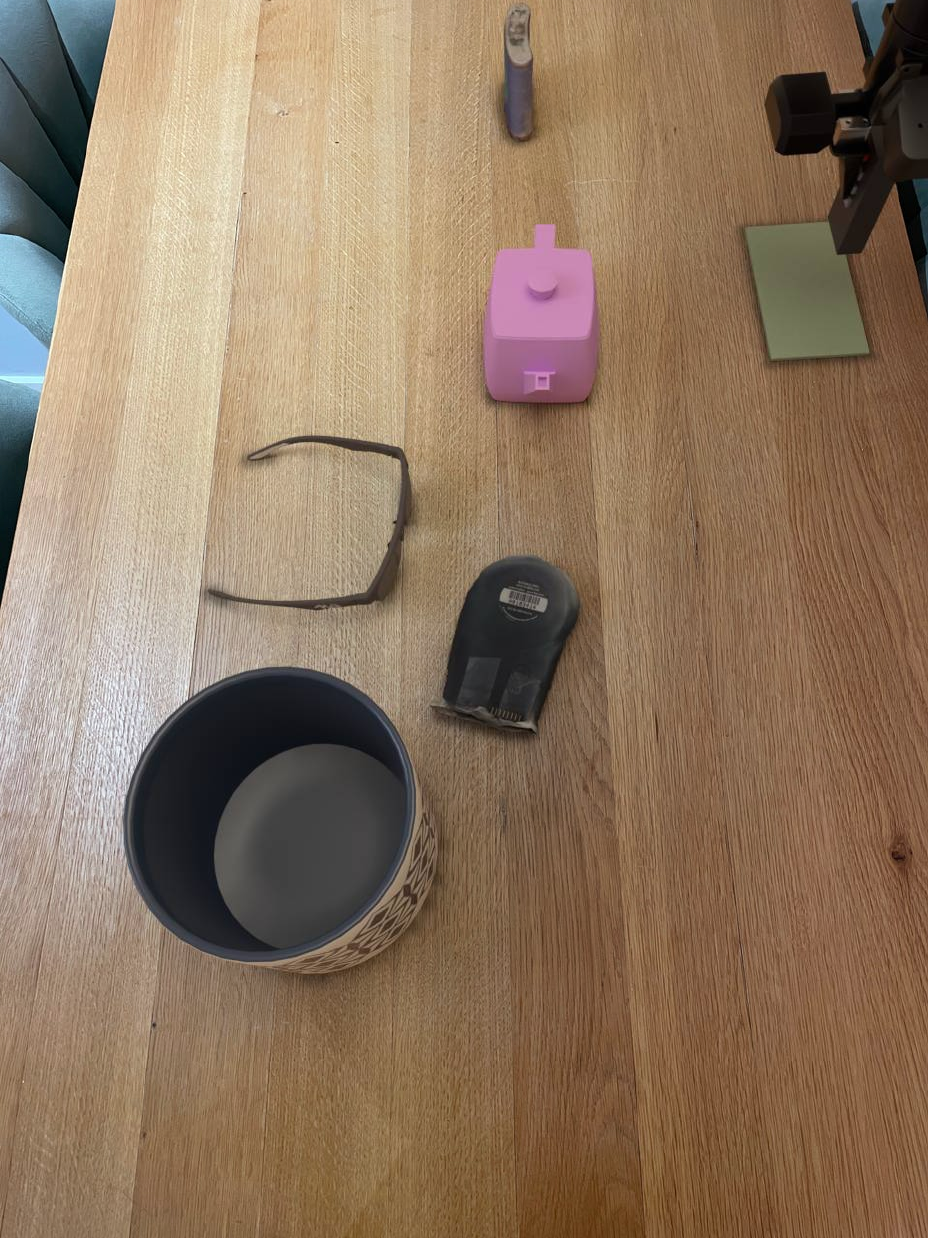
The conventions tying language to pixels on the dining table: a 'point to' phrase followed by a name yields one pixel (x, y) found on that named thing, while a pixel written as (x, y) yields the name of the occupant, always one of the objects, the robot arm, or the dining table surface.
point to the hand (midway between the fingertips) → (860, 194)
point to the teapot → (541, 323)
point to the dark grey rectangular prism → (861, 201)
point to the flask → (518, 72)
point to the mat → (805, 293)
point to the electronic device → (509, 643)
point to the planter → (281, 823)
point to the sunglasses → (393, 554)
